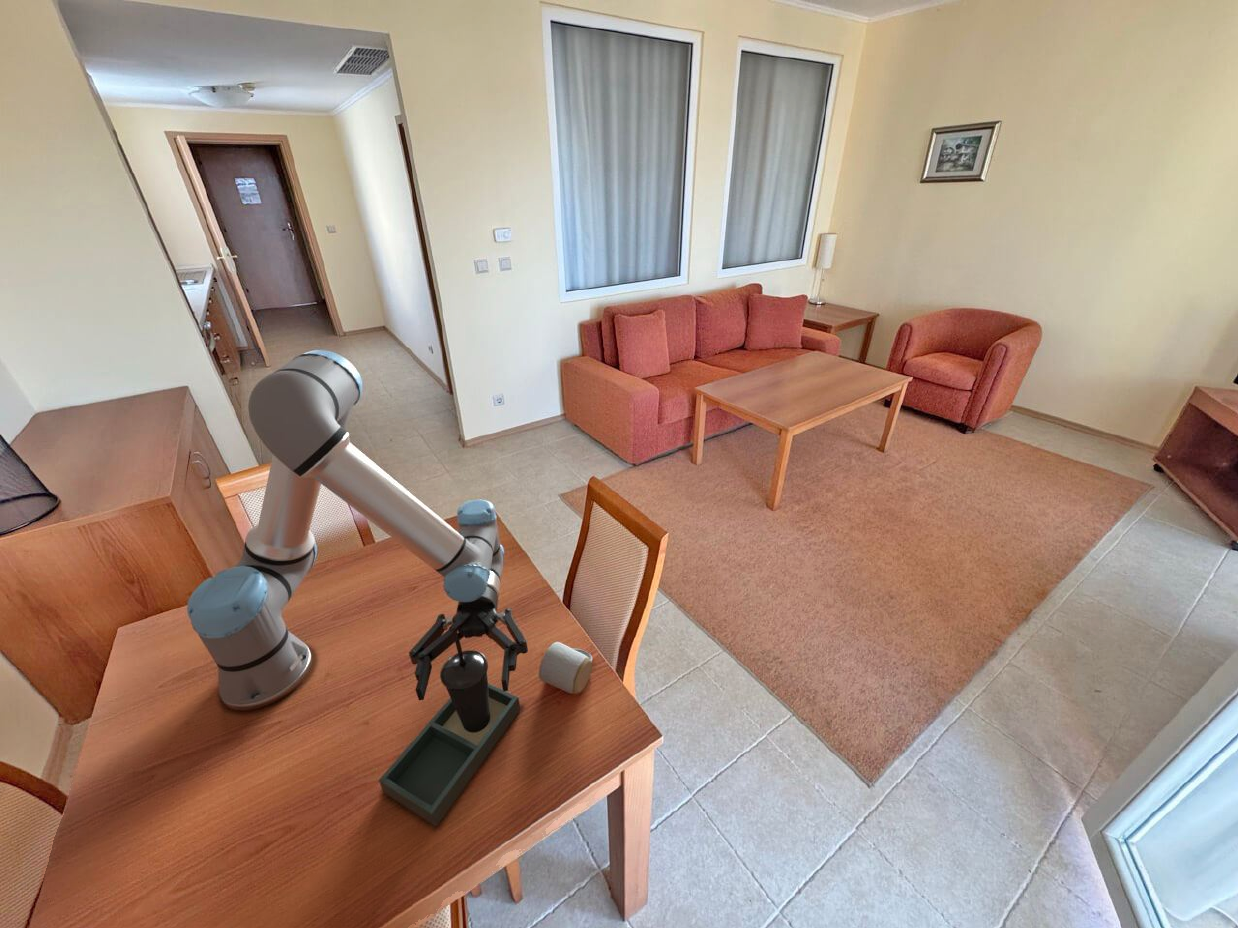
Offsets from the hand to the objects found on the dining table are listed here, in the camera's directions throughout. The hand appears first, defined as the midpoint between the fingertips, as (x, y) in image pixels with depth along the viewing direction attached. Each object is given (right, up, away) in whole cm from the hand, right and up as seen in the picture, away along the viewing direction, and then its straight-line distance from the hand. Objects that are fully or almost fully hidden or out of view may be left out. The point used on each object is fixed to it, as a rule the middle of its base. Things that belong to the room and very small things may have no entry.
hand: (462, 690), depth 81 cm
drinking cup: (0, -9, +8) cm, 12 cm away
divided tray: (-2, -12, +4) cm, 13 cm away
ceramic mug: (+16, -5, +17) cm, 24 cm away
